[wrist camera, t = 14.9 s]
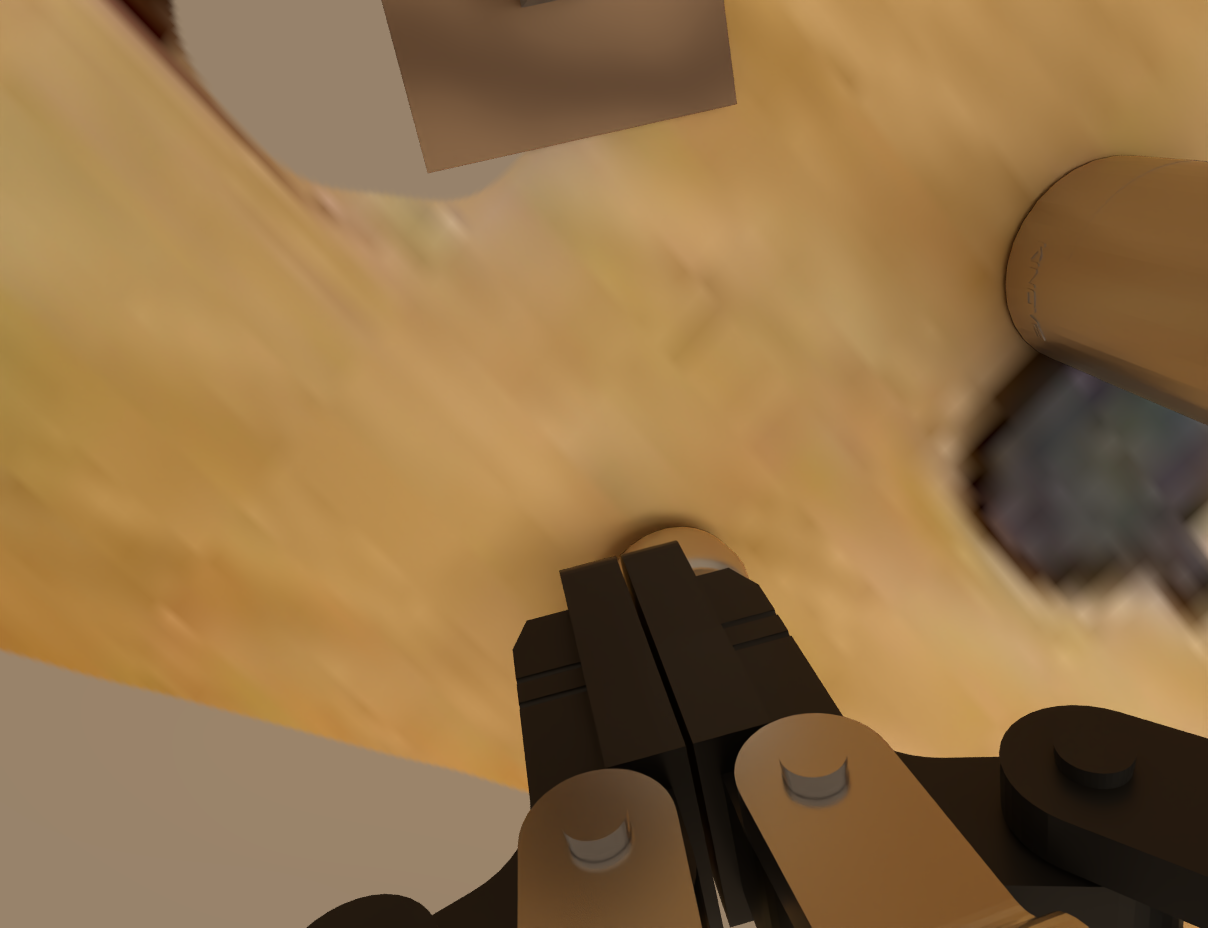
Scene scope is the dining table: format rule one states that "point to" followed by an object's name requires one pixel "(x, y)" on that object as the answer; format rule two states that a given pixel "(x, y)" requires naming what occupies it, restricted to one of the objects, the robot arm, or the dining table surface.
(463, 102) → the stand board
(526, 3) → the charcoal post
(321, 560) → the dining table surface
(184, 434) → the dining table surface
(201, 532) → the dining table surface
